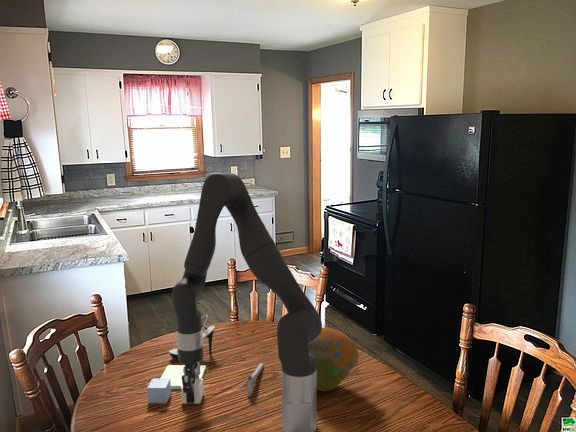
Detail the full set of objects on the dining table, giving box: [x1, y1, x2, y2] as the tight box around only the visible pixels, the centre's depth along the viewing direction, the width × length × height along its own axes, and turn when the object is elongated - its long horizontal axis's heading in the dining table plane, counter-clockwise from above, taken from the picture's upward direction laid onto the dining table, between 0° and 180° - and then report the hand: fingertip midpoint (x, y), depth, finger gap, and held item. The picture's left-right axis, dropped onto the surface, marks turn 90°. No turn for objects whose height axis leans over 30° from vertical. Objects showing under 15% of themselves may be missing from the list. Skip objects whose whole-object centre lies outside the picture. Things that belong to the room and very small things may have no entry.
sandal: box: [168, 314, 216, 361], centre depth 171 cm, size 15×9×15 cm, turn 82°
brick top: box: [146, 377, 172, 404], centre depth 146 cm, size 5×5×5 cm
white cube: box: [180, 378, 205, 404], centre depth 146 cm, size 5×5×5 cm
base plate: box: [160, 364, 207, 390], centre depth 157 cm, size 13×13×1 cm
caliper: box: [246, 362, 265, 397], centre depth 156 cm, size 20×1×6 cm, turn 172°
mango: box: [308, 327, 359, 392], centre depth 150 cm, size 20×16×20 cm
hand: (192, 396), depth 146 cm, fingers closed on white cube, 5 cm apart
